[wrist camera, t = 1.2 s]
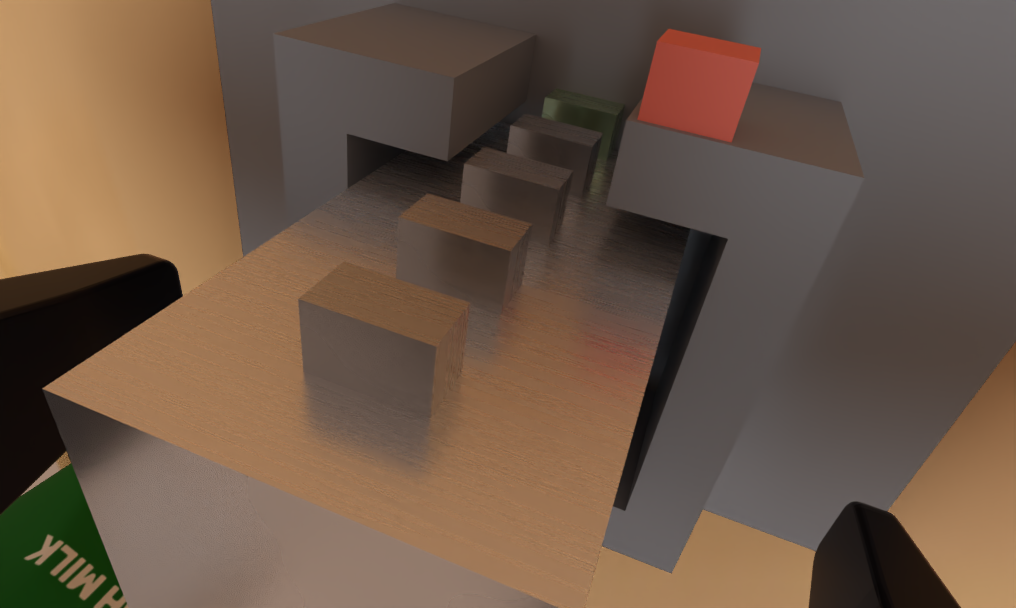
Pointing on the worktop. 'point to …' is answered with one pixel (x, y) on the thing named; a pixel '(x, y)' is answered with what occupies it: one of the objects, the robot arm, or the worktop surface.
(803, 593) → the worktop surface
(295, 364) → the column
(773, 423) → the stand
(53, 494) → the milk carton
